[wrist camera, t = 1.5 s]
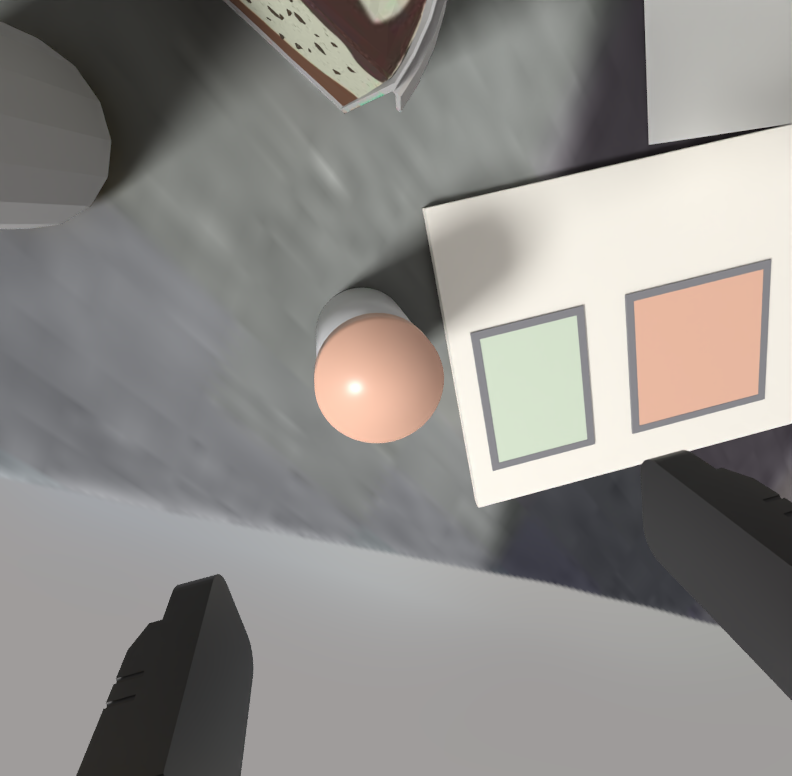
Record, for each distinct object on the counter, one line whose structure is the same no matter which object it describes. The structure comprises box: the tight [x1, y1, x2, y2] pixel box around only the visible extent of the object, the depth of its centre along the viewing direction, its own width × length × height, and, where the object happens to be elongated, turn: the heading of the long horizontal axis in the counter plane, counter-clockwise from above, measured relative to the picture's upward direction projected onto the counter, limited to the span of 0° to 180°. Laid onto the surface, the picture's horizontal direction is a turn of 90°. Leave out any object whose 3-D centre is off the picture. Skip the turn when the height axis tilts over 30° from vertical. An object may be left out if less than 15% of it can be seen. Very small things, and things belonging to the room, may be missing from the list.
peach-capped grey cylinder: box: [314, 288, 444, 443], centre depth 22 cm, size 5×5×8 cm
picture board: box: [422, 124, 792, 507], centre depth 28 cm, size 16×19×1 cm
